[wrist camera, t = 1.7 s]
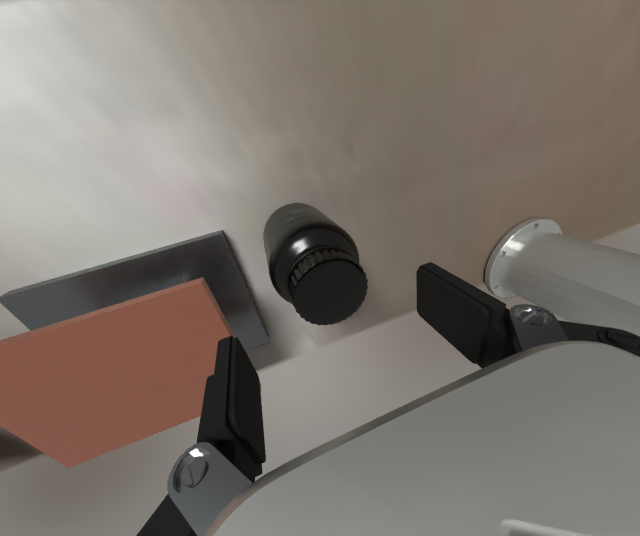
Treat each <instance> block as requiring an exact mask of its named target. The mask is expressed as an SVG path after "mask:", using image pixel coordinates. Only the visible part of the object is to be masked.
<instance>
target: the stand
mask: <svg viewBox="0 0 640 536" xmlns="http://www.w3.org/2000/svg"><path fill="white" fill-rule="evenodd" d="M0 303H1V304H2V305H3V306H4V307H6V308H7V309H8V310H9V311H10V312H11V313H12V314H13V315H14V316H15V317H17V318H18V319H19V320H20V321H21V322H22V323H23V324H24V325H25V326H26V327H28V328H29V329H30V330H31V331H29V332H26V333H23V334H19V335H16V336H13V337H10V338H7V339H3V340H0V426H1V427H3V428H4V429H6V430H8V431H9V432H11V433H13V434H14V435H16V436H17V437H19V438H21V439H22V440H24V441H25V442H27V443H29V444H30V445H32V446H34V447H35V448H37V449H38V450H40V451H42V452H43V453H45V454H46V455H48V456H50V457H51V458H53V459H55V460H56V461H58V462H59V463H61V464H63V465H64V466H66V467H68V468H70V467H72V466H75V465H77V464H80V463H82V462H85V461H87V460H90V459H93V458H95V457H98V456H100V455H102V454H105V453H108V452H110V451H112V450H115V449H118V448H120V447H123V446H125V445H128V444H130V443H133V442H136V441H138V440H141V439H143V438H146V437H148V436H150V435H153V434H156V433H158V432H161V431H164V430H166V429H168V428H171V427H174V426H176V425H179V424H181V423H184V422H186V421H189V420H191V419H194V418H196V417H199V416H201V412H202V405H203V399H204V392H205V386H206V381H207V378H208V376H211V375H213V374H214V370H215V362H216V354H217V346H218V341H219V340H221V339H224V338H226V337H229V336H233V338H236V337H238V339H239V341H240V342H241V344H242V346H243V348H244V350H245V351H247V350H250V349H252V348H255V347H258V346H261V345H263V344H266V343H269V335H268V333H267V330H266V328H265V326H264V324H263V321H262V319H261V317H260V315H259V312H258V310H257V308H256V306H255V303H254V301H253V299H252V296H251V294H250V292H249V290H248V287H247V285H246V283H245V281H244V278H243V276H242V274H241V271H240V269H239V267H238V265H237V262H236V260H235V258H234V256H233V253H232V251H231V249H230V246H229V244H228V242H227V240H226V237H225V235H224V233H223V231H222V230H221V231H217V232H214V233H210V234H207V235H204V236H200V237H197V238H193V239H190V240H186V241H183V242H179V243H176V244H172V245H169V246H165V247H162V248H158V249H155V250H151V251H148V252H144V253H141V254H138V255H134V256H131V257H127V258H124V259H120V260H117V261H113V262H110V263H106V264H103V265H99V266H96V267H92V268H89V269H85V270H82V271H78V272H75V273H72V274H68V275H65V276H61V277H58V278H54V279H51V280H47V281H44V282H40V283H37V284H33V285H30V286H26V287H23V288H19V289H16V290H12V291H9V292H7V293H6V294H4V295H2V296H0ZM260 392H261V384H260Z"/></svg>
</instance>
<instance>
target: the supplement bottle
mask: <svg viewBox="0 0 640 536" xmlns="http://www.w3.org/2000/svg"><path fill="white" fill-rule="evenodd" d="M264 246H265V252H266V258H267V263H268V269H269V274H270V278H271V281H272V284H273V286H274V288H275V290H276V291H277V292H278V294H279V295H280V296H281V297H282V298H283V299H285V300H286V301H288V302H289V303H291V304H293V306H294V307H295V309H296V312H297V313H299V314H300V317H302V318H304V319H305V320H306V321H308V322H311V323H312V324H317V325H328V324H330V325H332V324H334V323H339V322H341V321H342V320H345V319H347V318H348V317H350V316H351V315H352V314H353V313H354V312H356V311H357V309H358V308H359V307H360V306H361V304H362V302H363V301H364V300H365V296H366V294H367V291H366V290H367V288H368V286H367V281H368V280H367V279H366V274H365V272H364V271H363V268H362V267H361V266H360V265H359V254H358V250H357V247H356V244H355V242H354V241H353V239H352V238H351V237H350V235H349V234H348V233H347V232H346V231H345V230H343V229H342V228H341V227H340V226H338V225H337V224H336V223H334V222H333V221H332V220H330V219H329V218H328V217H327V216H325V215H324V214H323V213H321V212H320V211H319V210H317V209H316V208H314V207H312V206H310V205H307V204H303V203H292V204H288V205H285V206H283V207H281V208H279V209H278V210H276V211H275V212H274V213H273V214H272V215H271V216H270V218H269V219H268V221H267V223H266V225H265V229H264Z"/></svg>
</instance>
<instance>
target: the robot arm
mask: <svg viewBox="0 0 640 536" xmlns="http://www.w3.org/2000/svg"><path fill="white" fill-rule="evenodd" d="M485 284H486V287H487V288H488V290H489V291H490V292H491V293H492V294H494V295H496V296H498V297H501V298H511V297H515V296H518V295H519V296H521V297H523V298H525V299H527V300H529V301H531V302H533V303H535V304H537V305H538V306H540V307H538V306H534V305H527V304H526V305H525V304H524V305H523V304H521V305H516V306H514V307H512V308H511V309H510V310H509V309H507V308H506V304H505V303H503V302H501V301H499V300H498V299H496V298H494V297H492V296H490V295H488V294H487V293H485V292H483V291H481V290H480V289H478V288H476V287H474V286H473V285H471V284H469V283H467V282H466V281H464V280H462V279H460V278H458V277H457V276H455V275H453V274H451V273H450V272H448V271H446V270H444V269H442V268H441V267H439V266H437V265H435V264H434V263H431V262H430V263H427V264H424V265H421V266H420V267H419V269H418V270H417V312H418V314H419V315H420V316H421V317H422V318H423V319H424V320H425V321H426V322H427V323H429V325H431V326H432V327H433V328H434V329H435V330H436V331H437V332H438V333H440V334H441V335H442V336H443V337H444V338H445V339H446V340H447V341H448V342H450V343H451V344H452V345H453V346H454V347H455V348H456V349H457V350H458V351H460V352H461V353H462V354H463V355H464V356H465V357H466V358H467V359H468V360H470V361H471V362H472V363H475V364H478V365H479V366H480V367H481V368H482V369H480V370H478V371H476V372H474V373H472V374H470V375H467V376H465V377H463V378H461V379H459V380H457V381H455V382H453V383H450V384H448V385H446V386H444V387H442V388H440V389H438V390H436V391H433V392H431V393H429V394H427V395H425V396H423V397H421V398H418V399H416V400H414V401H412V402H410V403H408V404H406V405H404V406H402V407H400V408H397V409H395V410H393V411H391V412H389V413H387V414H385V415H383V416H381V417H378V418H376V419H374V420H372V421H370V422H368V423H366V424H364V425H362V426H360V427H358V428H356V429H354V430H351V431H349V432H347V433H345V434H343V435H341V436H339V437H337V438H335V439H333V440H331V441H329V442H327V443H324V444H323V445H321V446H319V447H316V448H314V449H312V450H310V451H308V452H307V453H305V454H303V455H301V456H299V457H297V458H295V459H293V460H291V461H289V462H287V463H285V464H283V465H282V466H280V467H278V468H276V469H274V470H272V471H271V472H269V473H267V474H265V475H264V476H263V477H261V478H259V479H258V480H257V481H255V477H256V476H258V475H261V474H262V463H264V462H265V461H266V455H265V443H264V432H263V431H264V430H263V418H262V405H261V394H260V381H259V377H258V374H257V372H256V370H255V369H254V367H253V365H252V363H251V361H250V359H249V357H248V355H247V354H246V352H245V350H244V348H243V346H242V344H241V342H240V341H239V339H238V337H236V338H233V336H229V337H226V338H224V339H221V340H219V341H218V346H217V354H216V362H215V370H214V374H213V375H211V376H208V378H207V381H206V386H205V392H204V399H203V405H202V412H201V418H200V424H199V431H198V437H197V444H195V445H193V446H191V447H190V448H188V449H187V450H186V451H185V452H184V453H183V454H182V455H181V456H180V457H179V459H178V460H177V461H176V463H175V464H174V466H173V468H172V470H171V472H170V475H169V478H168V482H167V491H168V495H167V496H166V497H165V499H164V500H163V501H162V503H161V504H160V505H159V507H158V508H157V510H156V511H155V512H154V513H153V514H152V516H151V517H150V519H149V520H148V521H147V522H146V524H145V525H144V526H143V528H142V529H141V530H140V532H139V533H138V534H137V536H640V255H639V254H635V253H631V252H627V251H623V250H619V249H615V248H611V247H607V246H603V245H599V244H595V243H591V242H587V241H583V240H579V239H575V238H571V237H567V236H563V235H562V233H561V229H560V227H559V225H558V224H557V223H556V222H554V221H553V220H549V219H545V218H533V219H530V220H527V221H525V222H523V223H521V224H519V225H517V226H516V227H515V228H513V229H512V230H511V231H509V232H508V233H507V234H506V235H505V236H504V237H503V238H502V240H501V241H500V242H499V243H498V244H497V246H496V247H495V249H494V250H493V252H492V254H491V256H490V258H489V260H488V263H487V266H486V270H485ZM541 307H542V308H541ZM543 308H544V309H543ZM549 311H550V312H552V313H554V314H556V315H558V316H560V317H562V318H564V319H566V320H568V321H570V322H565V321H558V320H557V318H556V317H555V316H554V315H553V314H552V313H550V312H549Z"/></svg>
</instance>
